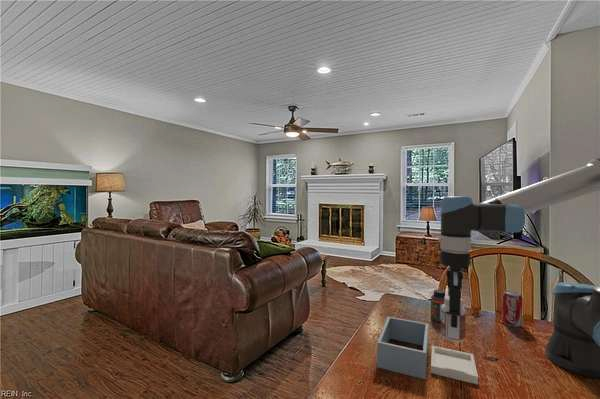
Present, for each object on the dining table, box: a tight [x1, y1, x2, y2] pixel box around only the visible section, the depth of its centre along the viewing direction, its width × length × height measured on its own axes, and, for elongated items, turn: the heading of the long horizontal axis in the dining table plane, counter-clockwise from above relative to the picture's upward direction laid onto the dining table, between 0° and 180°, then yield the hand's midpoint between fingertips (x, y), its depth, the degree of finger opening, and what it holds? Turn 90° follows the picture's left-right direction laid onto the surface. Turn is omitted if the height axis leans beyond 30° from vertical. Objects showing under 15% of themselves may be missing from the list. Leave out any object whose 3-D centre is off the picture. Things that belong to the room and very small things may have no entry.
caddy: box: [376, 316, 429, 381], centre depth 88 cm, size 13×20×7 cm, turn 155°
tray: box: [430, 345, 479, 385], centre depth 83 cm, size 11×12×2 cm
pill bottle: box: [440, 295, 467, 343], centre depth 83 cm, size 6×6×11 cm
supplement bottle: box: [430, 289, 446, 323], centre depth 115 cm, size 6×6×11 cm
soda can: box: [501, 290, 524, 328], centre depth 111 cm, size 6×6×12 cm
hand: (452, 332), depth 83 cm, fingers closed on pill bottle, 6 cm apart
